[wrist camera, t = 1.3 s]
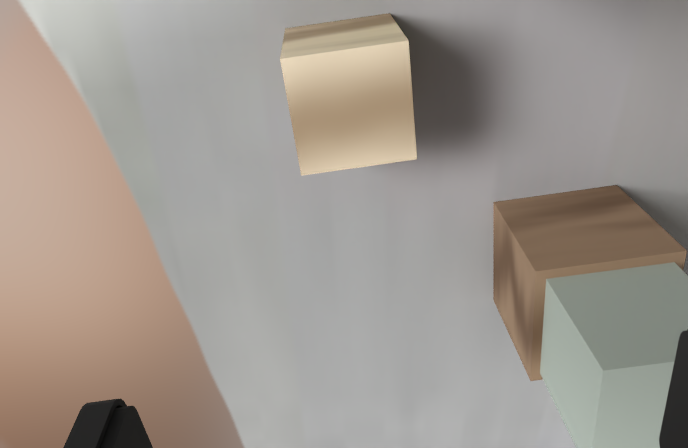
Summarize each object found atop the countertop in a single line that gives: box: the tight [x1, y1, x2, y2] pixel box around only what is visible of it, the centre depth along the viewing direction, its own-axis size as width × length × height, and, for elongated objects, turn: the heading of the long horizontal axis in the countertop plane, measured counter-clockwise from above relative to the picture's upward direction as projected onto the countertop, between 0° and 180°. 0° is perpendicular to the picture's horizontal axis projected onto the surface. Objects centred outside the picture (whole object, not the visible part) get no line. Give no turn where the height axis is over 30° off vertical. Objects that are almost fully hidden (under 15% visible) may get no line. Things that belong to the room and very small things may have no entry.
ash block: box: [280, 13, 417, 176], centre depth 26 cm, size 5×5×6 cm
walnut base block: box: [494, 185, 687, 381], centre depth 31 cm, size 7×7×7 cm
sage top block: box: [540, 262, 688, 448], centre depth 26 cm, size 6×6×6 cm
